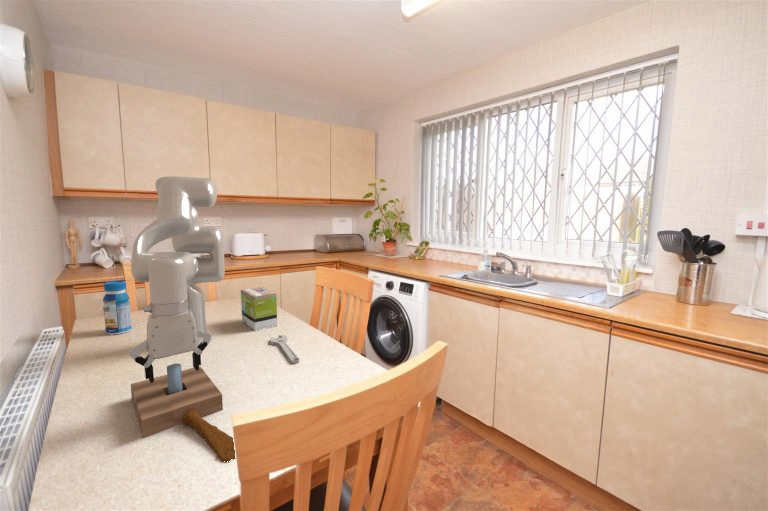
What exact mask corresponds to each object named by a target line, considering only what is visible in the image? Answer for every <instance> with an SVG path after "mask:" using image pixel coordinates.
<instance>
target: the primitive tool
mask: <svg viewBox="0 0 768 511" xmlns="http://www.w3.org/2000/svg"><path fill="white" fill-rule="evenodd" d="M182 423H183V424H182V425H184V426H187V427H189V426H190V427H191V428H192V429H193V430H195V431H196V433H198V434H199V435H200V436H201V438H202V439H203V440H204V439H205V440H204V441H205V442H206V443H207V445H208V446H209V447H210V449H212V450H213V451H214V453H215V454H216V458H217V459H218V458H219V460H221V461H225V462H227V461H228V463H230V462H231V461H230V460H231V459H233V460H232V461H234V460H235V459H236V458H235V450H234V442H233V438H234V437H232V436H231V435H229V434H227V433H226V432H225V431H223V430H221V429H219V427H217V425H212V424H211V423H210V422H208V420H206V419H204V418H203V417H200V416H199V413H198V411H196V410H190V411H189V412H187V413H186V414H185V416H184V418H183V420H182ZM221 461H220V462H221ZM229 461H230V462H229Z"/></svg>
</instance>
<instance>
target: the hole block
mask: <svg viewBox="0 0 768 511" xmlns="http://www.w3.org/2000/svg"><path fill="white" fill-rule="evenodd" d="M181 373H182V389H183V391H181V392H177V393H174V394H171V395H169V394H168V379H167V374H164V375H161V376H155V377H154V382H153V383H150V381H149V379H145V380H142V381H138V382H134V383H133V382H132V383H130V390H131V391H130V393H131V401H132V403H133V407H134V411H135V414H136V418H137V421H138V425H139V427H140V431H141V435H142V438H146V437H148V436H151V435H152V436H153V435H155V434H157V433H160V432H162V431H165V430H169V429H171V428H174V427H177V426H180V425H184V424H183V423H182V420H183V418H184V416H185V414H186V413H187V412H189V411H190V410H196V411H198V413H199V416H200V417H201V418H203V417H206V416H209V415H211V414H214V413H217V412H220V411H223V410H224V408H223V407H224V406H223V393H222V392H221V391H220V389H219V388H218V387H217V386H216V384H215V383H214V382H213V381H212V379H211V378H210V376H208V374H207V373H206V372H205V370H204V369H203V368H202V366H201V365H199V370H195V369H194V367H191V368H187V369H184V370H181Z"/></svg>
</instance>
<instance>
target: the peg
mask: <svg viewBox="0 0 768 511" xmlns="http://www.w3.org/2000/svg"><path fill="white" fill-rule="evenodd" d="M181 371H182V364H181V363H179V362H178V363H176V362H175V363H172V364H169V365H167V366H166V375H167V379H168V394H169V395H171V394H174V393H177V392H181V391H183V389H182V373H181Z"/></svg>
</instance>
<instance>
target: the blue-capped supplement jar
mask: <svg viewBox="0 0 768 511" xmlns="http://www.w3.org/2000/svg"><path fill="white" fill-rule="evenodd" d="M103 290H104V292H105V294H104V296H103V297H102V302H103V306H102V310H103V317H104V324H105V325H104V326H105V334H107V335H109V336H115V335H114V334H116V335H121V333H122V334H126V333H128V332H130V331H131V330H132V320H131V319H132V315H131V302H130V301H129V300H130V296H129V294H128V293H127V292H126V290H127V282H126V281H125V280H112V281H107V282H104V284H103ZM125 332H126V333H125Z"/></svg>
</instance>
